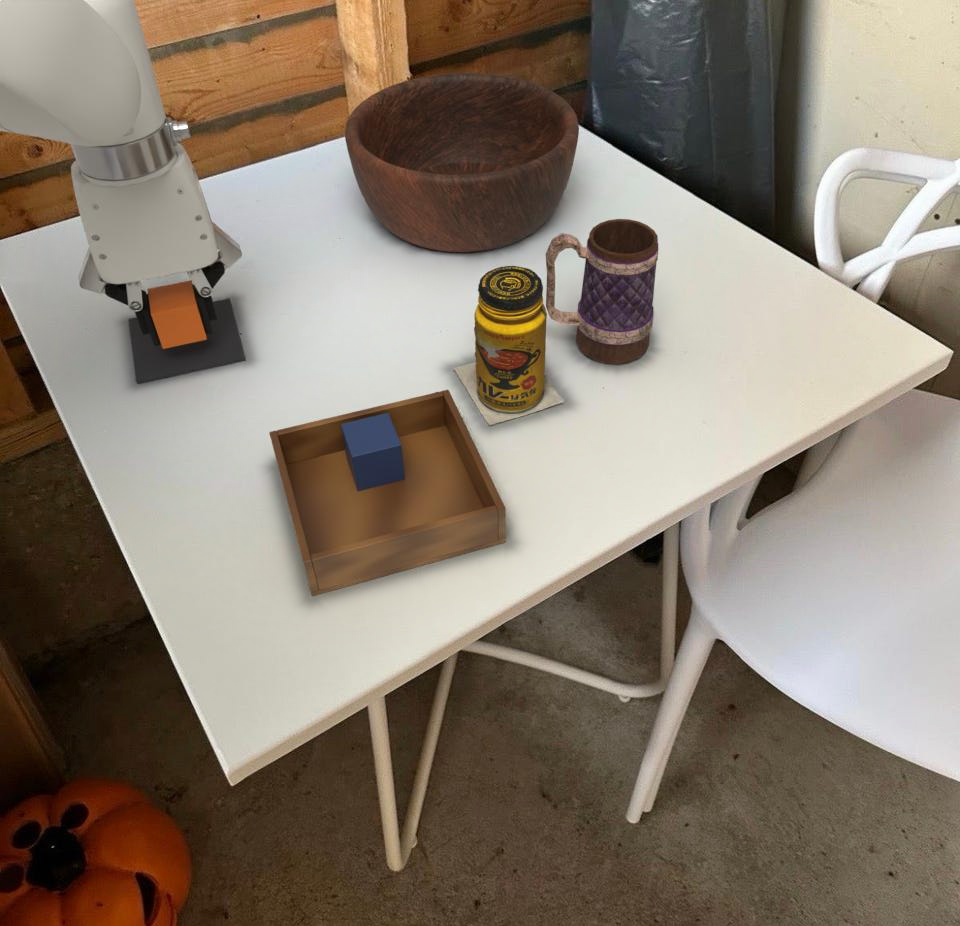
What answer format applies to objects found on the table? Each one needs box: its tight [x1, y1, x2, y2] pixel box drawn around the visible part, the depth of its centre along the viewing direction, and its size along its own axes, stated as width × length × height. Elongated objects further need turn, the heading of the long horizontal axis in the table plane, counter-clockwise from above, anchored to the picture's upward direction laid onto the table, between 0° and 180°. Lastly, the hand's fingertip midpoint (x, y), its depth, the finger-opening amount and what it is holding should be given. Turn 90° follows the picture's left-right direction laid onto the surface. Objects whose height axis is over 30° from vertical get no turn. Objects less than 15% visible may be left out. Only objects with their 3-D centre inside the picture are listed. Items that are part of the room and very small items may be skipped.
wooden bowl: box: [344, 72, 580, 253], centre depth 102 cm, size 25×25×10 cm
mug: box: [545, 218, 659, 365], centre depth 84 cm, size 10×7×12 cm
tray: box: [269, 389, 507, 597], centre depth 73 cm, size 15×14×4 cm
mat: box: [128, 297, 246, 385], centre depth 90 cm, size 10×10×1 cm
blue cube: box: [341, 413, 405, 491], centre depth 75 cm, size 4×4×4 cm
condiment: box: [453, 265, 565, 426], centre depth 80 cm, size 7×8×12 cm
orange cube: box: [146, 279, 207, 349], centre depth 85 cm, size 4×4×4 cm
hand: (181, 329), depth 86 cm, fingers closed on orange cube, 4 cm apart
